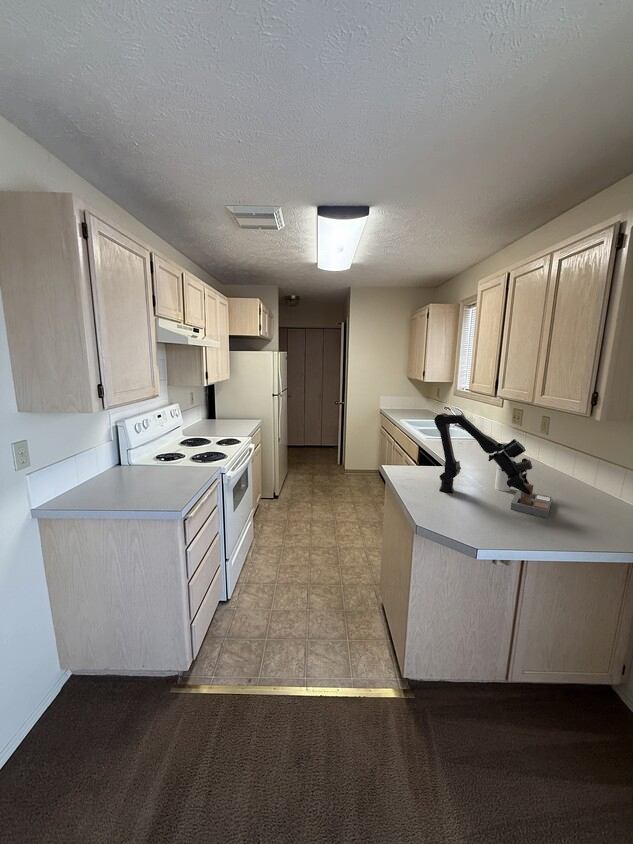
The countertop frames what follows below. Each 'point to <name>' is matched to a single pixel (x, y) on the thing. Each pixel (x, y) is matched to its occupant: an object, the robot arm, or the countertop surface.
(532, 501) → the socket block
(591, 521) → the countertop surface
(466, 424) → the robot arm
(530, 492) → the brown wooden block
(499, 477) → the cylindrical container
